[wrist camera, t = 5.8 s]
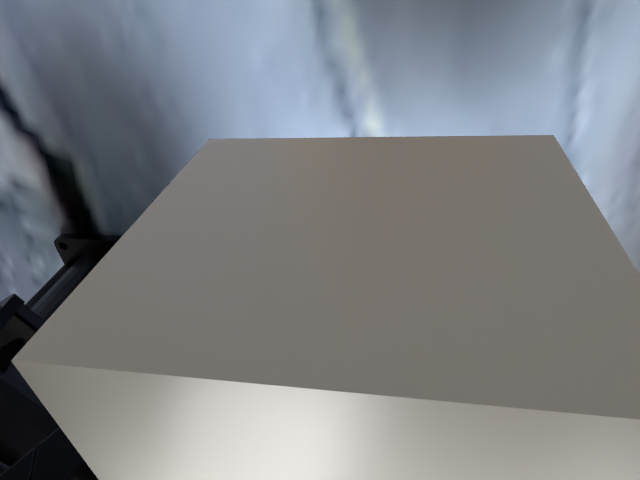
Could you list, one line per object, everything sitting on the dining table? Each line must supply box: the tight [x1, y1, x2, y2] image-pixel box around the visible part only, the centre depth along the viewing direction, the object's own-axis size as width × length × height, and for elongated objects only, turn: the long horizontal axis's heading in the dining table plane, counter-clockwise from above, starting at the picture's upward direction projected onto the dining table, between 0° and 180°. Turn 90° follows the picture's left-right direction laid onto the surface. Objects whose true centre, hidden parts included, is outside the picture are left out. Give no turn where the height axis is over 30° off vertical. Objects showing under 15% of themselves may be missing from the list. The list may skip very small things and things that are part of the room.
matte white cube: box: [11, 135, 640, 480], centre depth 10 cm, size 8×8×7 cm
